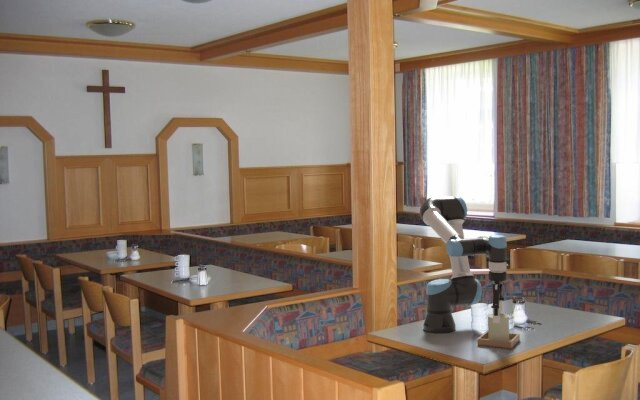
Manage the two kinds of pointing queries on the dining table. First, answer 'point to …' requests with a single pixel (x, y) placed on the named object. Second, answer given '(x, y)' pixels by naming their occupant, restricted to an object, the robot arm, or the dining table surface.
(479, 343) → the brown square tray
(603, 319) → the dining table surface
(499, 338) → the can
